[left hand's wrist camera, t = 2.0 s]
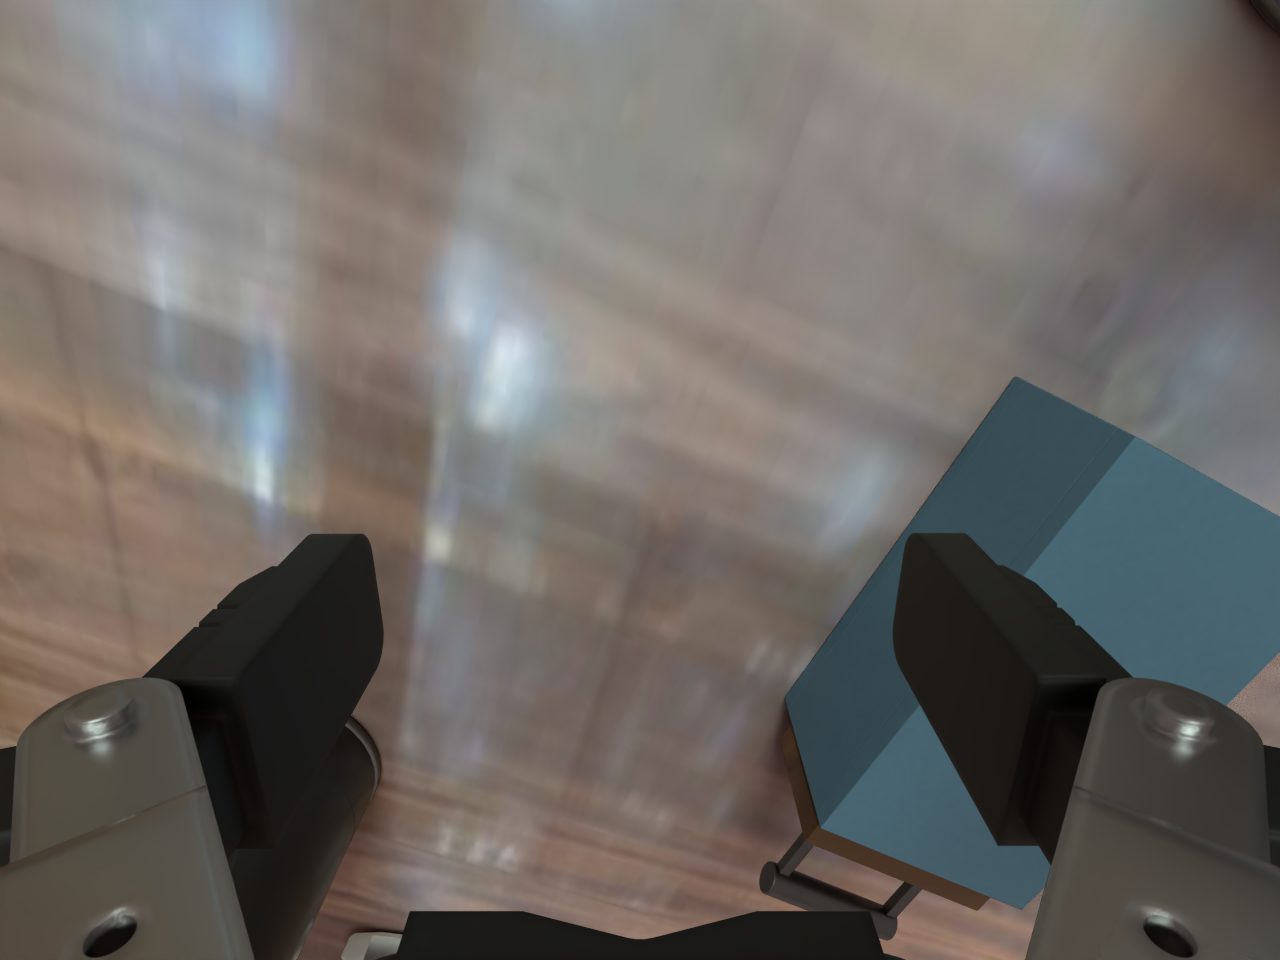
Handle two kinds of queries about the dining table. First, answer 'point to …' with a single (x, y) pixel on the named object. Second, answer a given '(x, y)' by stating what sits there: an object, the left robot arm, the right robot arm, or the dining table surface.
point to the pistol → (371, 946)
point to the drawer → (827, 897)
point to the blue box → (1079, 583)
